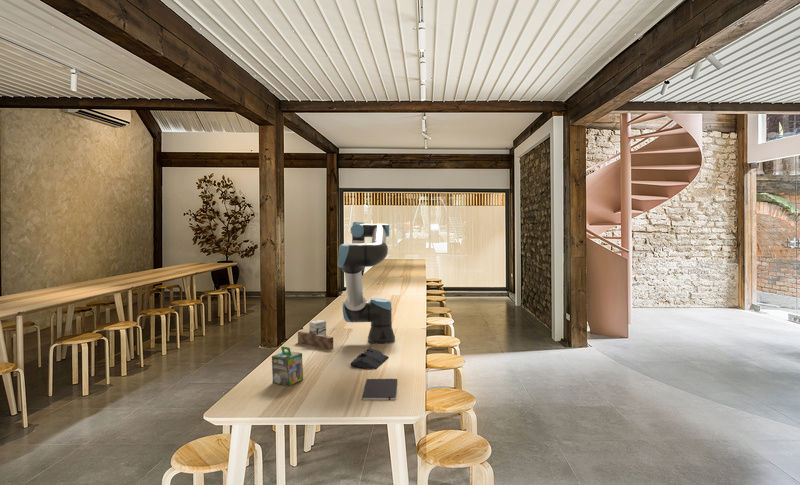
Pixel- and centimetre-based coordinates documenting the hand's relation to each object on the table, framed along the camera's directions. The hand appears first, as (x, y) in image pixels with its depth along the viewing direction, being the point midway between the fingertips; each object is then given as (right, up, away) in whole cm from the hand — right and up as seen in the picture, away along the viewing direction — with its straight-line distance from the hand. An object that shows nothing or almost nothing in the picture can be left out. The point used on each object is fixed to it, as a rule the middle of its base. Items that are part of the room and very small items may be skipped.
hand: (356, 287), depth 286 cm
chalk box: (-21, -31, -84) cm, 92 cm away
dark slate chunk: (+11, -30, -57) cm, 66 cm away
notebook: (+18, -32, -95) cm, 102 cm away
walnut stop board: (-20, -29, -26) cm, 43 cm away
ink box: (-20, -29, -19) cm, 40 cm away
